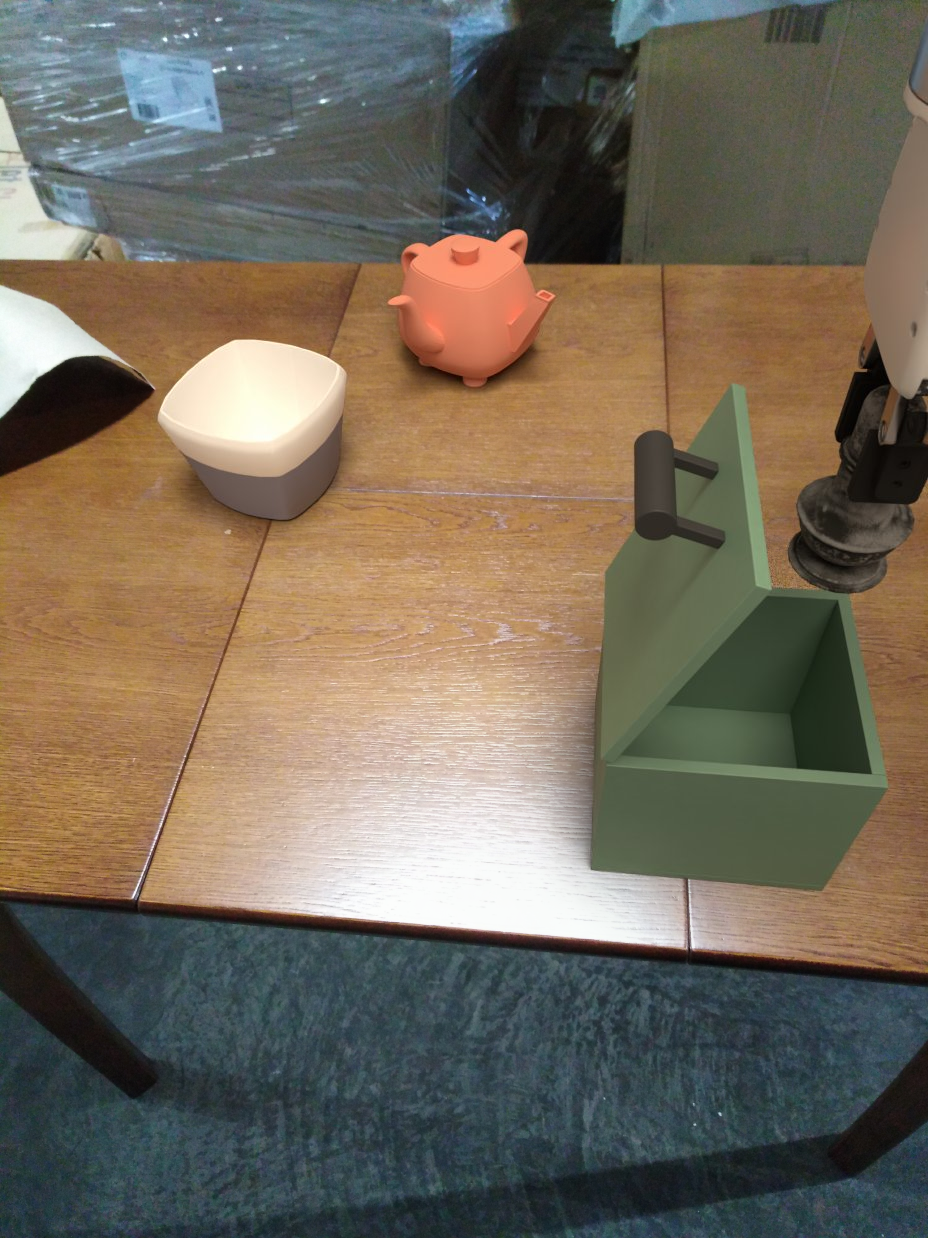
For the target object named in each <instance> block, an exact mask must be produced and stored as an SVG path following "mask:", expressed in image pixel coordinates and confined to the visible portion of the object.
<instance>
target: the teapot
mask: <svg viewBox="0 0 928 1238" xmlns="http://www.w3.org/2000/svg"><path fill="white" fill-rule="evenodd" d="M528 243H529V238H528V234H527V233H526V231H524V230H522V229H519V228H518V229H517V228H516V229H512V230H510V231H508V232H507V233H506V234H504V235H502V236H501V237H500V238H499V239H497V240H496V241H493V240H489V239H487V238H482V237H478V236H474V235H468V234H453V235H449V236H448V237H445V238H443V239H441V240H439V241H437V242H435V243H433V244H432V245H430V246H429V245H427V244H425V243H422V242H415V243H412V244H410V245H408V246H407V247H406V248H405V249H404V250H403V251H402V253H401V257H400V263H401V264H400V265H401V269H402V272H403V275H404V281H403V284H402V288H401V292H400V295H397V296H395V297H392V298H390V299H389V300H388V301H387V305H389V306H392V307H396V308H398V311H397V313H398V314H397V323H398V333H399V335H400V338H401V339H402V341H403V342H404V344H405V345H406V347H407V348H408V349H409V350H410V351H411V352H412V353H413V355H415V356H416V357H417V358H418V363H419V364H420V366H421V365H422V366H424V367H434V368H435V369H438V370H441V371H443V372H446V373H449V374H452V375H456V376H461V377H462V382H463V384H464V385H466V386H467V387H470V388H477V387H482V386H483V385H485V384H486V383H487V382H488V378H489V377H492V376H494V375H495V374H498V373H500V372H501V371H502V370H504V369H505V368H507V367H509V366H510V365H511V364H512V363H514V362H515V361H516V360H518V359H519V358H520V357H521V356H522V355H523V354H524V353H525V352H526V351H527V350H528V349H529V348H530V346H531V345H532V344H533V342H534V341H535V339H536V338H537V335H538V334H539V332H540V329H541V325H542V322H543V320H545V317H546V315H547V314H548V312H549V311H550V308H551V306H552V305H553V303H554V302H555V300H556V297H557V296H556V294H553V293H552V292H549V291H548V290H545V289H540V290H539V291H538V292H537V291H536V289H535V285H534V283H533V280H532V278H531V275H530V273H529V271H528V269H527V267H526V264H525V263H524V261H525V258H526V254H527V249H528Z"/></svg>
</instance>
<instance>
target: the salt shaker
mask: <svg viewBox="0 0 928 1238" xmlns="http://www.w3.org/2000/svg"><path fill="white" fill-rule="evenodd" d="M891 386H892V384H888V385H883V386H880V387H878V388H876V389H875V390H873V391H872V392H870V393H869V395H868V396H867V397H866V399H865V400H864V403H863V406H862V409H861V411H860V414H859V417H858V420H857V423H856V426H855V428H854V431H853V434H852V435H850V436H848V437H846V438H845V439H844V440H843V441H842V443H839V448H838V456H839V459H840V460H841V461H840V463H839V466H838V469H837V472H836V474H832V475H826V476H823V477H820V478H817V479H814V480H813V481H811V482H810V483H808V484H807V485H805V486H804V487H803V489H802V490H801V491H800V493H799V494H798V496H797V501H796V503H795V504H796V515H797V517H798V524H799V528H800V530H799V531H798V532H796V533H795V534H794V535H793V536H792V538H791V539H790V541H789V544H788V546H787V549H786V550H787V558H788V561H789V564H790V566H791V568H792V569H793V571H794V572H795V573H796V574H797V575H798V576H799V578H801V579H803V580H804V581H805V582H807V583H808V584H810V585H812V586H814V587H816V588H818V589H819V590H826V591H830V592H834V593H843V594H849V595H851V594H860V593H864V592H867V591H869V590H872V589H874V588H875V587H877V586H878V585H879V584H880V583H882V581H883V579H884V578H885V576H887V572H888V567H889V563H888V558H887V556H888V555H889V554H890V553H892V552H893V551H894V550H896V549H897V548H898V547H899V546H901V545H902V544H903V543H905V542H906V541H907V540H908V539H909V538H910V536H911V534H912V533H913V531H914V525H915V516H914V512H913V509H912V508H911V506H910V504H907V505H906V504H884V503H862V502H852V501H850V500H849V498H848V493H847V488H848V485H849V483H850V480H851V477H852V475H853V472H854V469H855V466H856V464H857V461H858V458H859V456H860V453H861V450H862V447H863V445H864V442H865V439H866V437H867V434H868V431H869V429H879V425H880V421H881V418H882V415H883V412H884V408H885V405H886V402H887V399H888V395H889V392H890V389H891ZM927 409H928V406H927V403H926V401H925V398H924V396H914V397H913V398H912V399H910V401H909V404H908V408H907V411H906V414H909V413H911V412H914V411H922V412H925V411H926V412H928V411H927ZM906 414H905V415H906Z"/></svg>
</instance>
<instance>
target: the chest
mask: <svg viewBox="0 0 928 1238" xmlns="http://www.w3.org/2000/svg"><path fill="white" fill-rule="evenodd" d="M856 625H857V624H856V621H855V615H854V610H853V606H852V601H851V597H850V594H843V593H834V592H830V591H826V590H822V589H810V588H809V589H808V588H792V587H776V586H775V587H773V586H772V591H771V592H770V593H769V594H768V595H767V596H766V597H765V598H764V599H763V601H762V602H761V603H760V604H759V605H758V606H757V607H756V608H755V609H754V610H753V611H752V612H751V614H750V615H749V616H748V617H747V618H746V619H745V620H744V621H743V622H742V623H741V624H740V625H739V627H738V628H737V629H736V630H735V631H734V632H733V633H732V634H731V635H730V636H729V637H728V638H727V640H726V641H725V642H724V643H723V644H722V645H721V646H720V647H719V648H718V649H717V650H716V651H715V653H714V654H713V655H712V656H711V657H710V658H709V659H708V660H707V661H706V662H705V663H704V664H703V666H702V667H701V668H700V669H699V670H698V671H697V672H696V673H695V674H694V675H693V676H692V677H691V679H690V680H689V681H688V682H687V683H686V684H685V685H684V686H683V687H682V688H681V689H680V690H679V692H678V693H677V694H676V695H675V696H674V697H673V698H672V699H671V700H670V701H669V702H668V703H667V705H666V706H665V707H664V708H663V709H662V710H661V711H660V712H659V713H658V714H657V715H656V716H655V718H654V719H653V720H652V721H651V722H650V723H649V724H648V725H647V726H646V727H645V728H644V729H643V731H642V732H641V733H640V734H639V735H638V736H637V737H636V738H635V739H634V740H633V741H632V742H631V744H630V745H629V746H628V747H627V748H626V749H625V750H624V751H623V752H622V753H621V754H620V755H619V757H618V758H617V759H616V760H615V761H614V762H608V761H605V760H601V723H602V681H603V639H604V630H603V631H602V640H601V649H600V658H599V665H598V674H597V682H596V683H597V685H596V693H595V706H594V707H595V708H594V709H595V711H594V712H595V713H594V744H593V745H594V746H593V778H592V779H593V781H592V809H591V810H592V812H591V813H592V814H591V843H590V844H591V846H590V849H591V850H590V870H591V871H598V872H610V873H621V874H632V875H643V876H652V877H653V876H655V877H664V878H665V877H666V878H675V879H685V880H699V881H709V882H710V881H711V882H720V883H729V884H730V883H731V884H741V885H742V884H743V885H753V886H764V887H774V888H775V887H776V888H786V889H795V890H796V889H797V890H809V891H818V892H819V891H821V892H822V891H823V890H824V889H825V886H827V884H828V883H829V881H830V879H831V878H832V876H833V875H834V874H835V872H836V870H837V869H838V867H839V866H840V864H841V863H842V861H843V859H844V857H845V856H846V855H847V853H848V851H849V850H850V848H851V847H852V846H853V844H854V842H855V840H857V838H858V836H859V834H860V833H861V831H862V830H863V829H864V827H865V825H866V824H867V822H868V821H869V819H870V817H871V815H872V814H873V813H874V811H875V810H876V808H877V807H878V805H879V803H880V802H881V801H882V799H883V798H884V797H885V794H886V793H887V791H888V790H889V787H890V786H889V781H888V776H887V770H886V767H885V766H886V765H885V761H884V756H883V750H882V747H881V742H880V737H879V731H878V728H877V722H876V718H875V713H874V707H873V703H872V697H871V692H870V688H869V683H868V678H867V673H866V667H865V664H864V659H863V653H862V649H861V644H860V639H859V635H858V630H857V629H858V628H857V626H856Z"/></svg>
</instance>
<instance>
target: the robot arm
mask: <svg viewBox="0 0 928 1238" xmlns="http://www.w3.org/2000/svg"><path fill="white" fill-rule="evenodd" d="M902 99H903V103H904V104H905V108H906V109H907V111H909V113H911V114H912V115H913V116H914V117H913V119H912V121H911V124H910V127H909V130H908V132H907V135H906V138H905V140H904V144H903V146H902V149H901V152H900V154H899V157H898V159H897V163H896V165H895V168H894V170H893V173H892V176H891V179H890V182H889V185H888V188H887V191H886V194H885V197H884V200H883V203H882V205H881V208H880V212H879V214H878V218H877V222H876V225H875V228H874V231H873V235H872V237H871V242H870V246H869V249H868V252H867V257H866V262H865V266H864V270H863V271H864V272H863V294H864V299H865V304H866V308H867V311H868V315H869V319H870V323H869V326H868V329H867V331H866V333H865V336H864V338H863V341H862V343H861V345H860V349H859V352H858V356H857V366H858V369H859V370H866V371H854V372H853V375H852V378H851V380H850V384H849V387H848V390H847V392H846V395H845V398H844V402H843V404H842V408H841V410H840V414H839V416H838V420H837V423H836V425H835V428H834V431H833V432H834V437H835V441H836V442H837V443H838V444H841V443H842V441H843V440H844V439H845V438H846V437H848V436H850V435H852V434H853V431H854V428H855V426H856V423H857V420H858V417H859V414H860V411H861V409H862V406H863V403H864V400H865V399H866V397H867V396H868V395H869V393H870V392H872V391H873V390H875V389H876V388H878V387H880V386H883V385H888V384H892V386H891V389H890V392H889V395H888V399H887V402H886V405H885V408H884V412H883V415H882V418H881V421H880V425H879V429H869V431H868V434H867V437H866V439H865V442H864V445H863V447H862V450H861V453H860V456H859V458H858V461H857V464H856V466H855V469H854V472H853V475H852V477H851V480H850V483H849V485H848V488H847V493H848V498H849V500H850V501H852V502H862V503H884V504H906V505H907V504H908V505H913V504H915V503H916V502H918V500H919V499H920V497H921V494H922V493H923V490H924V487H925V486H926V483H927V481H928V411H927V412H926V411H925V412H922V411H914V412H911V413H909V414H906V411H907V408H908V404H909V401H910V399H912V398H913V397H914V396H922V397H928V12H927V13H926V17H925V19H924V23H923V27H922V30H921V33H920V37H919V41H918V43H917V47H916V50H915V54H914V57H913V60H912V64H911V67H910V70H909V73H908V77H907V81H906V85H905V88H904V90H903V95H902ZM905 414H906V415H905Z"/></svg>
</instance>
